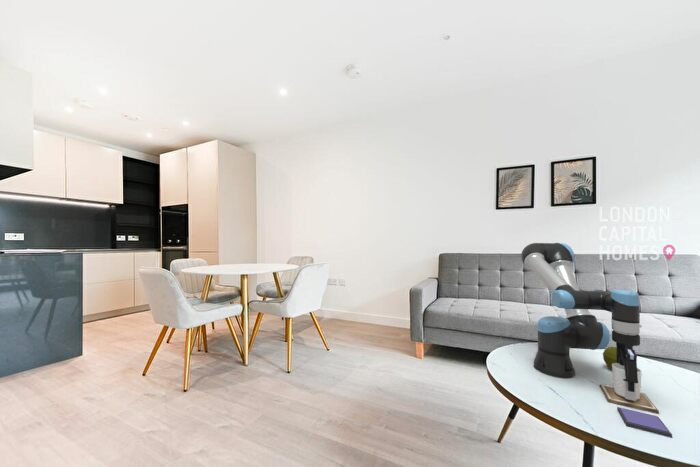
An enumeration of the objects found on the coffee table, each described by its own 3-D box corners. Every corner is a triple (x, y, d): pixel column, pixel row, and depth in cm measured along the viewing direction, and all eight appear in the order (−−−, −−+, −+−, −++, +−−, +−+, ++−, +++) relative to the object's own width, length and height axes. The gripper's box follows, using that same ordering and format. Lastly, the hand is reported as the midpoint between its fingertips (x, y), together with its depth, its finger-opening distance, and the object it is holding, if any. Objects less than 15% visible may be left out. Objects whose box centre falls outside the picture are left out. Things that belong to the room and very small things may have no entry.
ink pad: (626, 426, 89) (626, 421, 89) (617, 409, 98) (617, 406, 98) (672, 437, 84) (672, 433, 84) (658, 419, 92) (658, 415, 93)
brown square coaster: (608, 402, 102) (608, 398, 102) (599, 386, 113) (599, 383, 113) (658, 413, 96) (658, 410, 96) (644, 395, 107) (644, 392, 107)
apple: (613, 374, 124) (612, 349, 124) (597, 364, 134) (597, 341, 134) (639, 376, 122) (638, 350, 123) (621, 366, 132) (621, 342, 132)
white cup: (606, 389, 108) (606, 363, 108) (625, 388, 109) (624, 362, 109) (628, 401, 100) (628, 372, 100) (648, 400, 101) (647, 372, 101)
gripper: (650, 342, 94) (651, 411, 94) (630, 326, 112) (631, 384, 111) (620, 338, 98) (621, 404, 98) (605, 323, 116) (606, 379, 115)
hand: (626, 394), depth 104 cm, fingers closed on white cup, 8 cm apart
